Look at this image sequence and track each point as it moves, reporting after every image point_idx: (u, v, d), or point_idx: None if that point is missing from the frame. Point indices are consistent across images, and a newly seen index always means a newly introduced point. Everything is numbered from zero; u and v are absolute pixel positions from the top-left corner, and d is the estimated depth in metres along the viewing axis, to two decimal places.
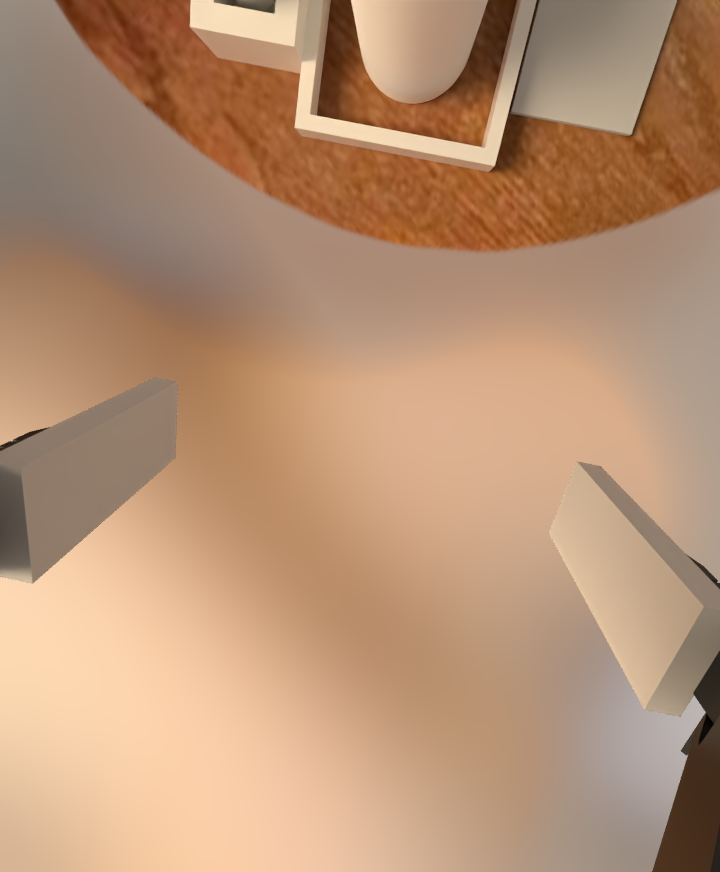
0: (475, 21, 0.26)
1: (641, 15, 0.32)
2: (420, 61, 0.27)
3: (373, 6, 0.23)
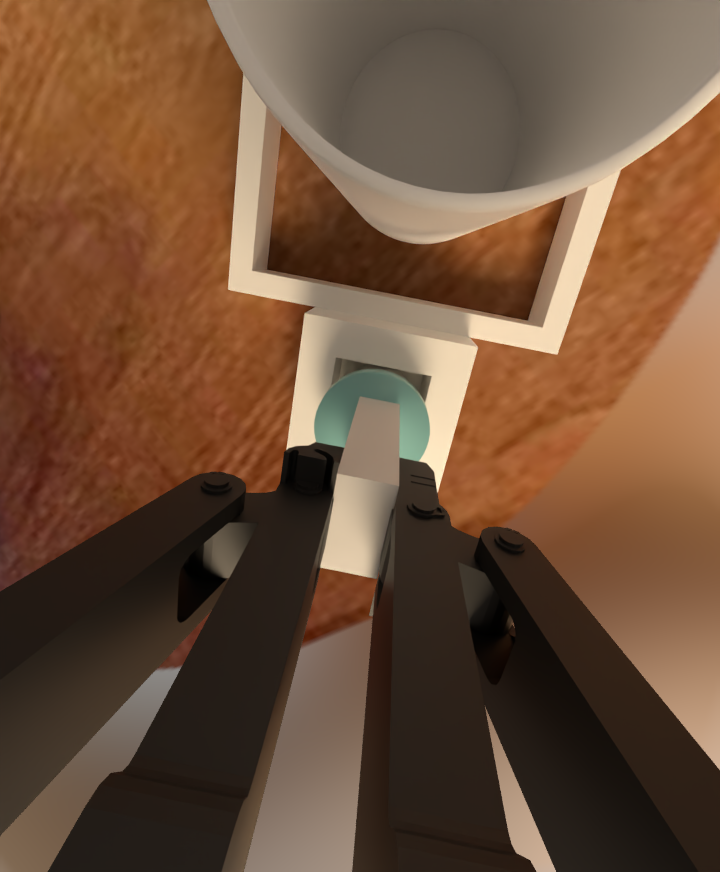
0: None
1: None
2: None
3: None
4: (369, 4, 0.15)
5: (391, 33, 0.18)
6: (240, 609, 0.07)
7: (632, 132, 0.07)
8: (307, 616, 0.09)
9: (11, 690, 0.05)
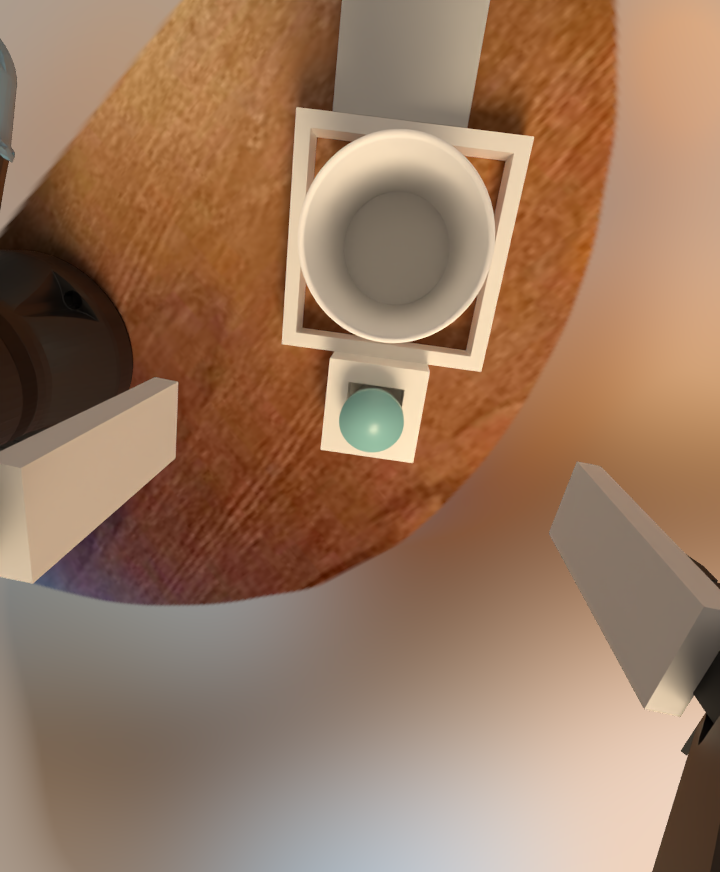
0: None
1: None
2: None
3: None
4: (357, 199, 0.29)
5: (370, 198, 0.32)
6: None
7: (451, 310, 0.21)
8: None
9: None
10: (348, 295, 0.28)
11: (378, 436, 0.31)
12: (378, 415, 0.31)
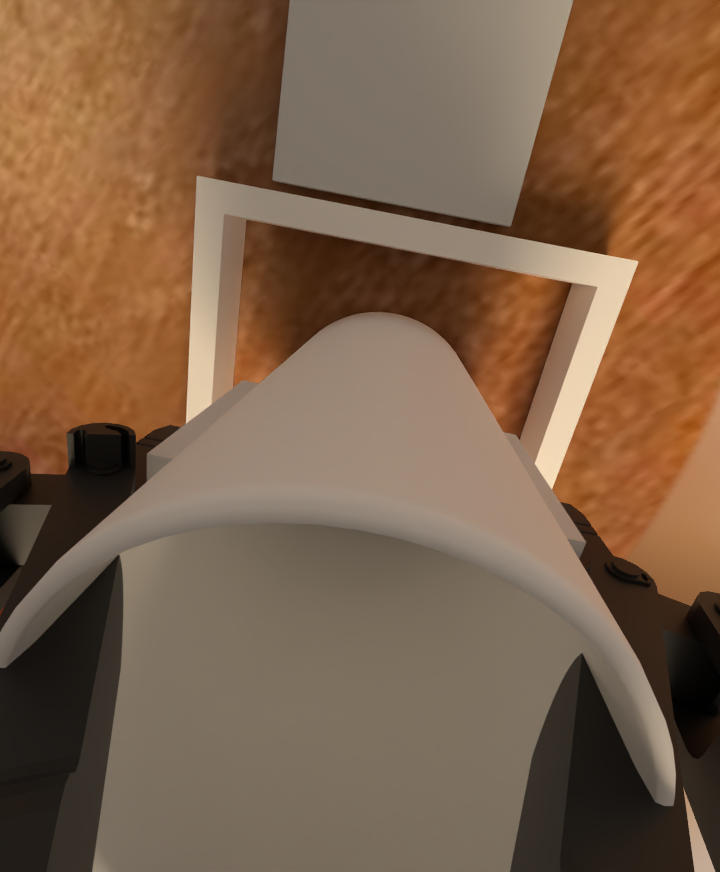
0: (473, 394, 0.11)
1: None
2: None
3: None
4: None
5: None
6: None
7: (483, 854, 0.07)
8: None
9: None
10: (269, 556, 0.14)
11: None
12: None
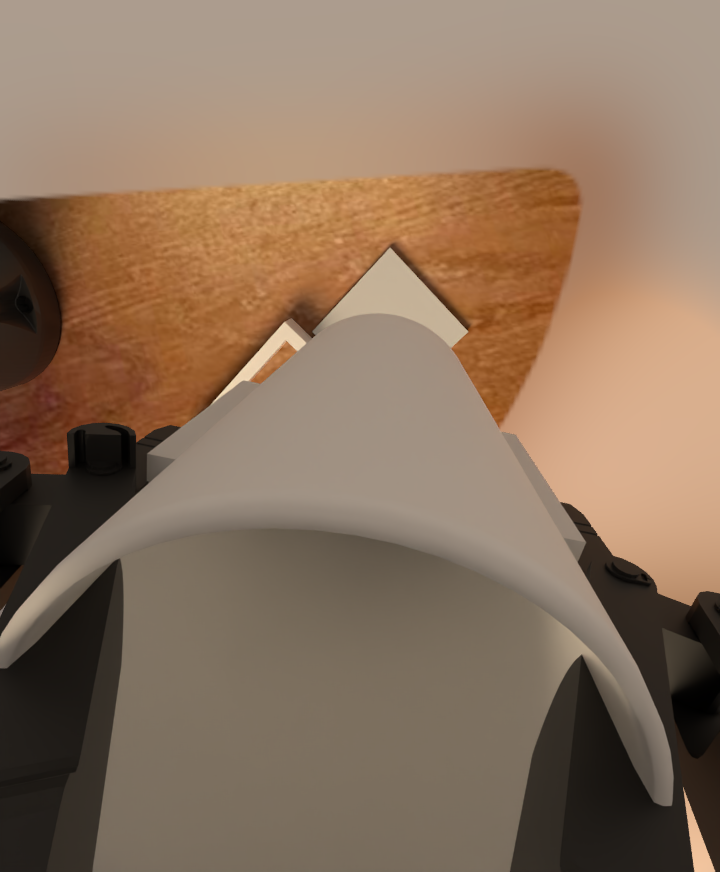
0: (472, 397, 0.11)
1: (391, 288, 0.36)
2: None
3: None
4: None
5: None
6: None
7: (481, 856, 0.07)
8: None
9: None
10: (268, 557, 0.14)
11: None
12: None
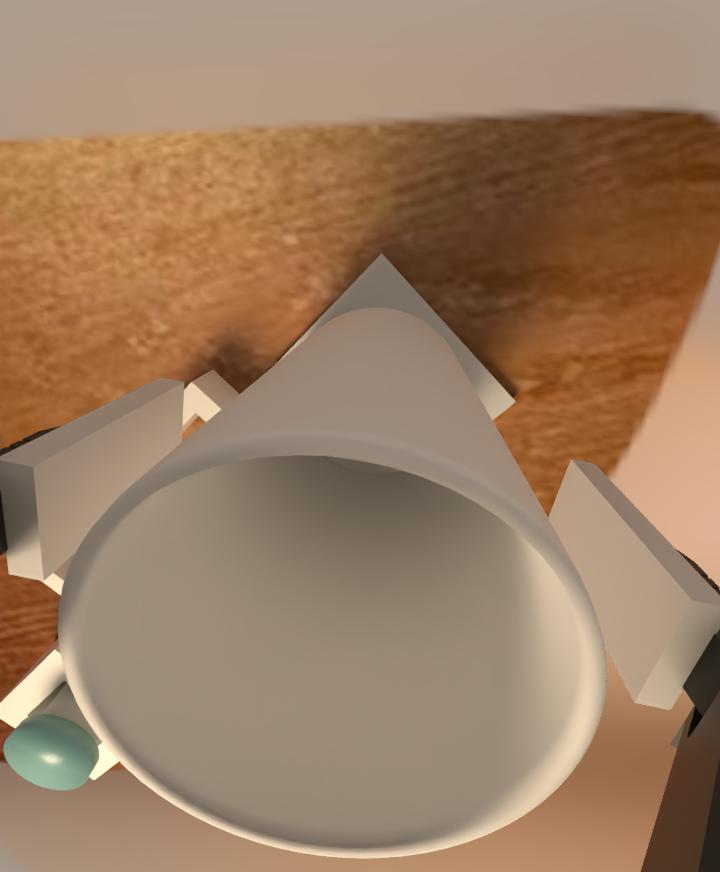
0: (460, 378, 0.12)
1: None
2: None
3: None
4: None
5: None
6: None
7: (463, 760, 0.09)
8: None
9: None
10: (277, 528, 0.16)
11: (47, 775, 0.23)
12: (59, 760, 0.23)
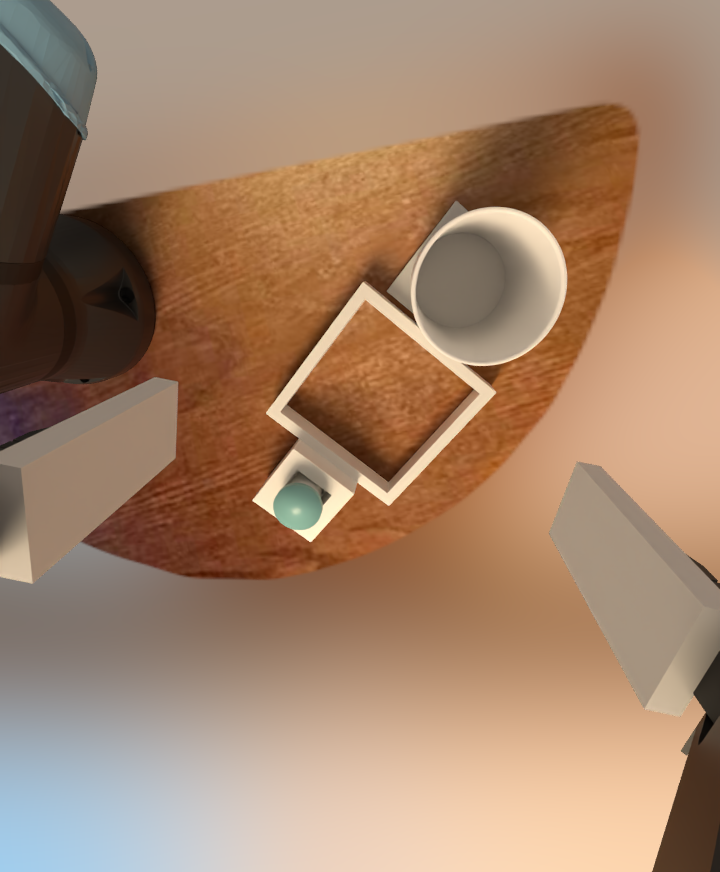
0: None
1: None
2: None
3: None
4: None
5: (436, 240, 0.38)
6: None
7: (530, 336, 0.26)
8: None
9: None
10: None
11: (296, 519, 0.42)
12: (304, 507, 0.41)
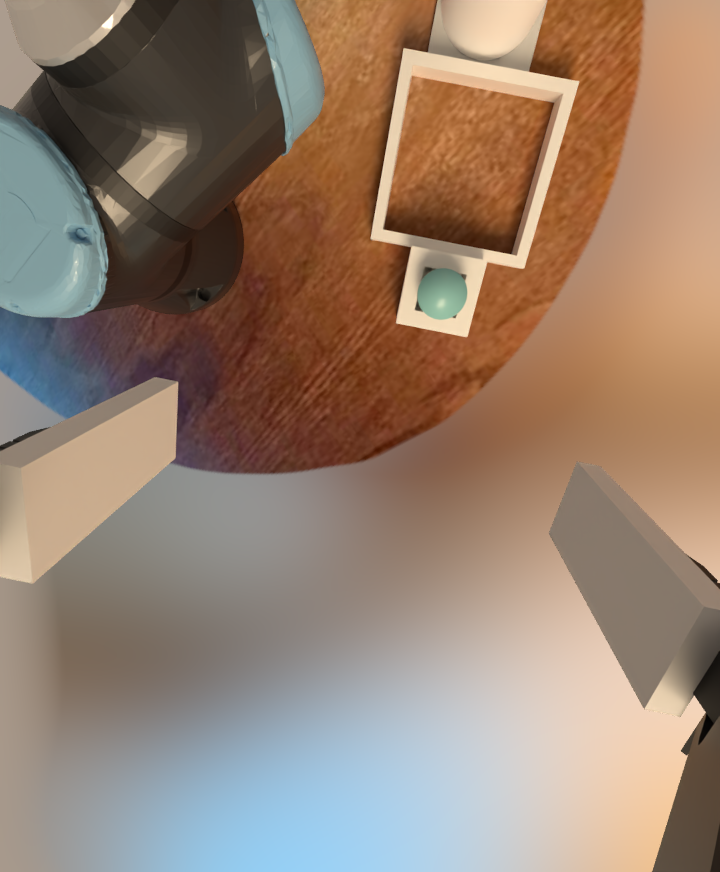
0: None
1: None
2: None
3: None
4: None
5: None
6: None
7: None
8: None
9: None
10: None
11: (446, 306, 0.41)
12: (448, 289, 0.41)
